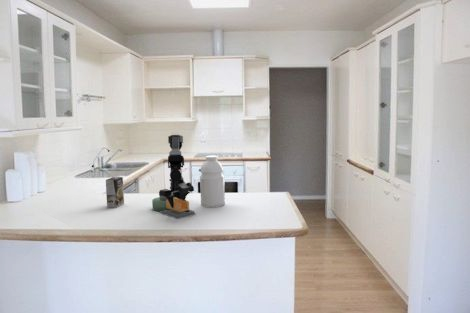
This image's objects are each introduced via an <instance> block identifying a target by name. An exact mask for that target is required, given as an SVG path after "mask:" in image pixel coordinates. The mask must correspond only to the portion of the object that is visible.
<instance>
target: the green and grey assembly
mask: <svg viewBox="0 0 470 313" xmlns="http://www.w3.org/2000/svg"><path fill="white" fill-rule="evenodd" d="M158 195H159V194H158ZM174 198H176V197H174ZM174 198H173V201H174ZM166 200H168V199H167V198H166V197H164V196H160V195H159V197H155V198H153V199H152V201H151V203H152V210H153V211H155V212H160V214H163V215H165V216H167V217H171V218H174V219H178V220H179V219H182V218H186V217H190V216H194V215H196V212H195V210H192V209H189V210H186V211H182V212H178V211H175V210H171V209H168V208H166Z"/></svg>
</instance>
